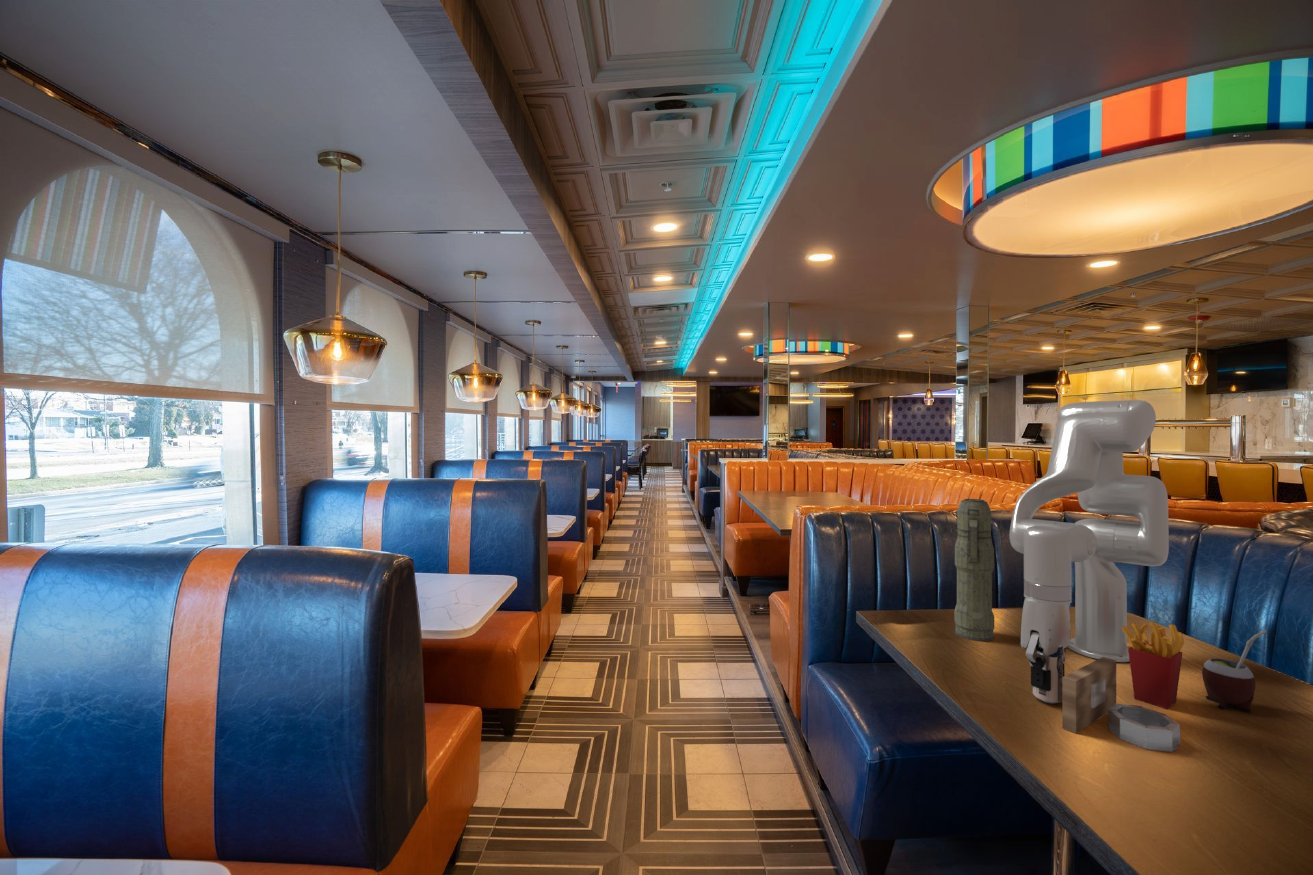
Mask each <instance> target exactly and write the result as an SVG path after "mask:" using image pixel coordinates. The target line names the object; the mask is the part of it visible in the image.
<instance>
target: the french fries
mask: <svg viewBox="0 0 1313 875" xmlns="http://www.w3.org/2000/svg"><path fill="white" fill-rule="evenodd" d="M1148 624H1149V625H1148ZM1148 624H1147V623H1143V624H1142V626H1141V627H1139V626H1138V624H1137V623H1135V622H1133V623H1131V626H1132V627H1133V629H1134V633H1135V635H1136V636H1134V635H1133V632H1131V630H1130V629H1129V627H1128V625H1127V626H1125V627H1122V628H1121V629H1122V630H1123V631H1124V633H1125V634H1126V636H1127V640H1128V641H1129V643H1130V647H1127V648H1128V652H1129V659H1130V662H1129V666H1130V667H1129V668H1130V672H1131V673H1130V674H1131V682H1132V688H1133V696H1134V700H1137V699H1138V701H1140V702H1143V701H1144V702H1143V703H1146V704H1149V705H1153V706H1155V707H1159V708H1162V709H1165V710H1168V709H1169V708H1171V707H1172V706H1174V705H1175V704H1176V703H1177V699H1178V698H1177V696H1178V688H1179V681H1180V676H1181V675H1180V674H1181V667H1182V666H1181V665H1182V659H1183V652H1182V651H1181V650H1182V649H1183V646H1184V643H1185V642H1184V640H1185V639H1184V635H1183V633H1182V632H1180V631H1179V632H1178V629H1177V626H1176V625H1175V624H1169V625H1168V628H1169V629H1170V632H1171V633H1170V634H1171V640H1170V637H1168V636H1167V635H1166V629H1165V628H1164V627H1162V625H1160V624H1157V623H1155V622H1149V623H1148ZM1148 626H1150V628H1151V630H1152V633H1151V638H1150V640H1149V639H1148V637H1147V635H1146V634H1145V633H1144V632H1145V630H1146V629H1147V628H1148ZM1143 640H1144V642H1143ZM1150 642H1151V643H1150Z"/></svg>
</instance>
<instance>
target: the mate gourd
mask: <svg viewBox="0 0 1313 875" xmlns="http://www.w3.org/2000/svg"><path fill="white" fill-rule="evenodd" d="M1267 632H1268V630H1266V629H1264V630H1262V631H1260V632H1258V633H1256V634H1254V635H1253V636H1251V637H1250V638H1249V639H1248V640H1247V641H1246V642H1245V647H1244V649H1243V651H1242V654H1241V656H1240V658H1239V661H1235V660H1230V659H1226V658H1219V657H1218V658H1217V657H1214V658H1213V657H1212V658H1209V659H1208V660H1206V661H1205V662H1204V663H1203V667H1202V670H1201V674H1202V675H1201V676H1202V680H1203V685H1204V689H1205V690H1206V694H1207V695H1205V699H1206V700H1209V701H1212V702H1214V703H1217V704H1218V705H1217V708H1218V709H1220V710H1225V709H1228V708H1233V709H1236V710H1240V711H1242V712H1245V713H1248V714H1251V713H1252V712H1253V710H1252V709H1251V705H1252V703H1253V701H1254V697H1255V696H1254V695H1255V691H1256V681H1255V678H1254V676H1255V675H1254V674H1253V672H1252V671H1251V669H1250V668H1249V667H1248V666H1247V665H1246V664H1244V662H1245V660H1246V657H1247V655H1248V653H1249V651H1250V649H1251V647H1252V646H1253V644H1254V643H1255V640H1257V638H1260V637H1261V636H1262V635H1264V634H1266V633H1267Z"/></svg>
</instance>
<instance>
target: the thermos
mask: <svg viewBox="0 0 1313 875" xmlns="http://www.w3.org/2000/svg"><path fill="white" fill-rule="evenodd" d="M956 514H957V515H956V516H957V519H956V520H957V522H956V525H957V526H956V528H957V530H958V532H957V536H956V541H955V543H954V565H955V568H956V605H955V608H954V612H953V614H954V615H953V616H954V617H953V618H954V624H955V629H954V633H955V634H956V635H957V636H958V637H961V638H963V639H967V640H971V641H976V642H977V641H978V642H990V641H993V640H994V637H995V635H994V630H995V615H994V612H993V590H992V589H993V572H994V570H995V548H994V545H993V542H992V536H991V532H992V511H991V508H990V505H989V502H988V501H986V500H984V499H977V498H964V499H963V500H960V502H959V505H958V507H957V512H956Z"/></svg>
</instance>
